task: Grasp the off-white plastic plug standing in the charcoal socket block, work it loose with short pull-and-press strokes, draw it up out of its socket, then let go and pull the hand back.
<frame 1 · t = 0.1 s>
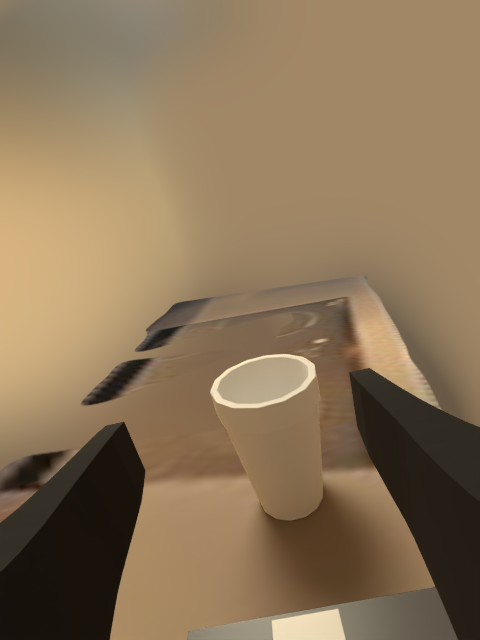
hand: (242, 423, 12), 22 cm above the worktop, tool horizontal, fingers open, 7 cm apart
foam cup: (291, 495, 37), on the worktop
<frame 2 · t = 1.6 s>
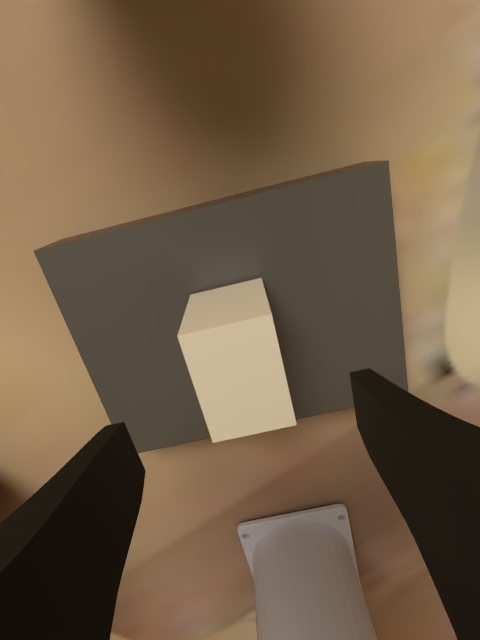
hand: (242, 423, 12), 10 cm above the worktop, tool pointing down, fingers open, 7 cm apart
plug: (238, 338, 18), point 4 cm above the worktop, slide at 0.0 cm
socket block: (236, 308, 21), on the worktop
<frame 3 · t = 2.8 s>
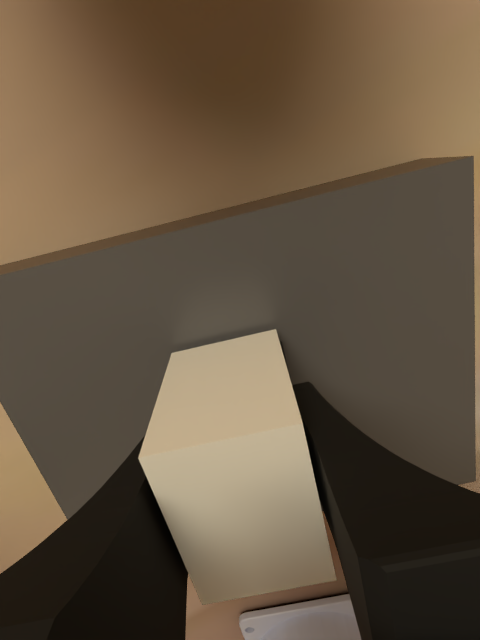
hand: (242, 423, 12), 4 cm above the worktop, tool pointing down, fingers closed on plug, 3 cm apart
plug: (241, 415, 12), point 4 cm above the worktop, slide at 0.0 cm, touching gripper
socket block: (239, 357, 16), on the worktop
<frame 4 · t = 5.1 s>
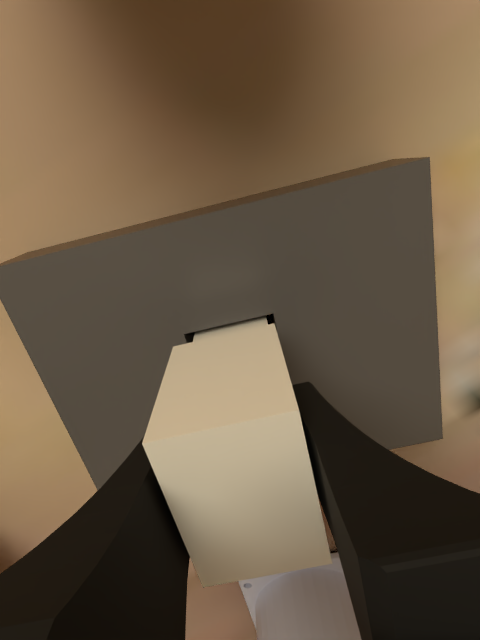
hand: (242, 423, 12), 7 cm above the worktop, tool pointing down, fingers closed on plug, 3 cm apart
plug: (241, 407, 12), point 6 cm above the worktop, slide at 2.0 cm, touching gripper
socket block: (237, 333, 18), on the worktop
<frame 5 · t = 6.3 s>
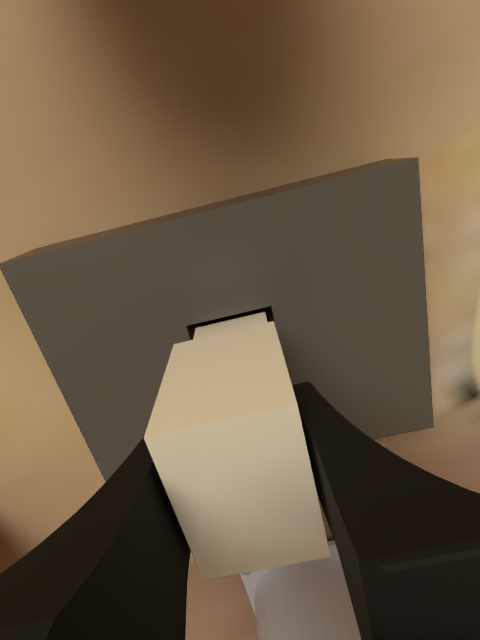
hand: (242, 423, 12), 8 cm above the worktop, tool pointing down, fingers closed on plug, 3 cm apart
plug: (240, 404, 13), point 7 cm above the worktop, slide at 2.7 cm, touching gripper
socket block: (237, 326, 19), on the worktop
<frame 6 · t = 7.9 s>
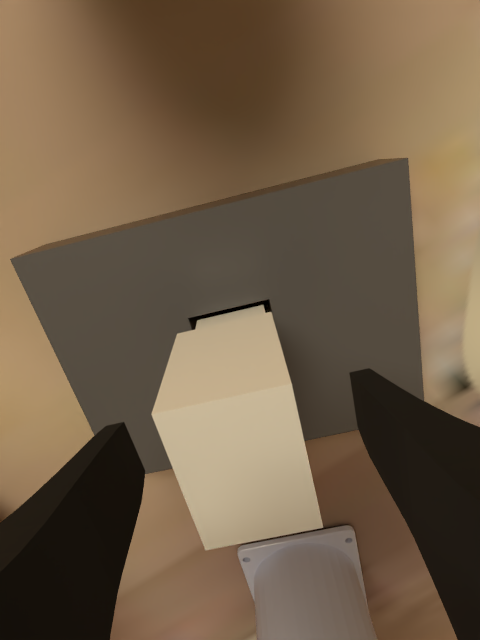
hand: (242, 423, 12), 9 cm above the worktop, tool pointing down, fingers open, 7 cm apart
plug: (240, 390, 13), point 7 cm above the worktop, slide at 2.7 cm
socket block: (237, 320, 20), on the worktop
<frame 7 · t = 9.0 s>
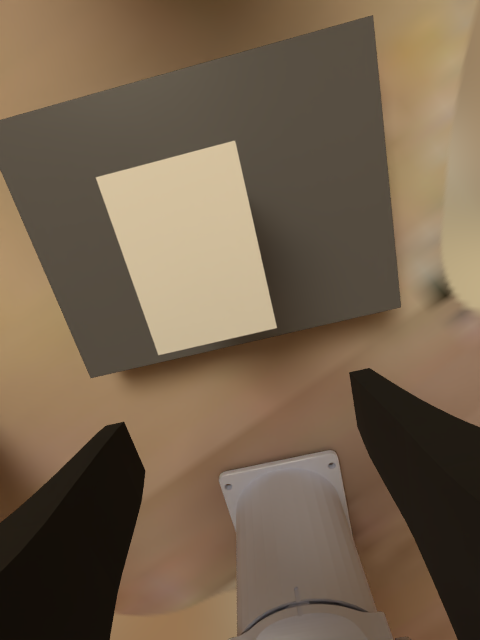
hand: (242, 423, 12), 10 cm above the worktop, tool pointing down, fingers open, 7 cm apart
plug: (204, 236, 13), point 7 cm above the worktop, slide at 2.7 cm
socket block: (213, 218, 20), on the worktop
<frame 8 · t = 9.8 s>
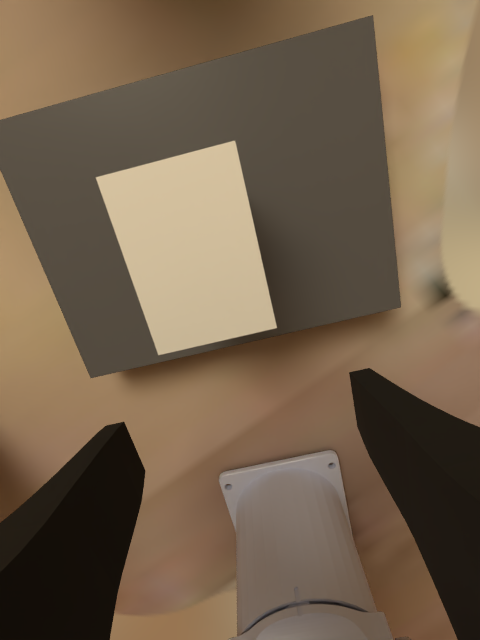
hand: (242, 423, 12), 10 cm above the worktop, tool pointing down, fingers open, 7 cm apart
plug: (204, 236, 13), point 7 cm above the worktop, slide at 2.7 cm
socket block: (213, 218, 20), on the worktop
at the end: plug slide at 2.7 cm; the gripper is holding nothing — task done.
